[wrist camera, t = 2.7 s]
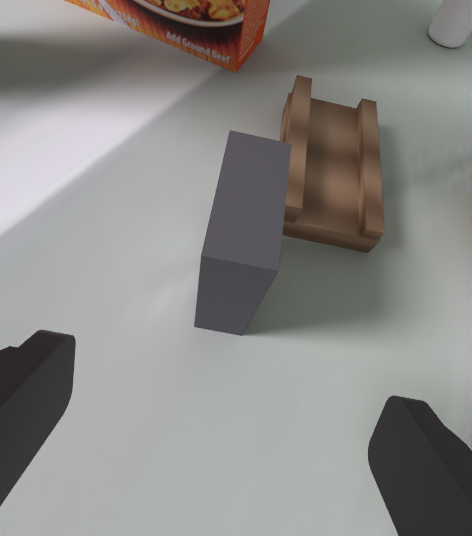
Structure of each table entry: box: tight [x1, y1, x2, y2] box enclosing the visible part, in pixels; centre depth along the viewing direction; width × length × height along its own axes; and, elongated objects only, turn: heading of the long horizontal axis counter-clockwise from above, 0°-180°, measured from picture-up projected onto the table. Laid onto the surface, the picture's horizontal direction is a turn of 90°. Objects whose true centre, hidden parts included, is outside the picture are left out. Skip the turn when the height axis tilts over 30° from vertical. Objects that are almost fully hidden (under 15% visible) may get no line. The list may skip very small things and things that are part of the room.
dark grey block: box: [194, 130, 292, 335], centre depth 22 cm, size 8×4×11 cm, turn 172°
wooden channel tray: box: [280, 75, 384, 253], centre depth 31 cm, size 16×9×4 cm, turn 172°
